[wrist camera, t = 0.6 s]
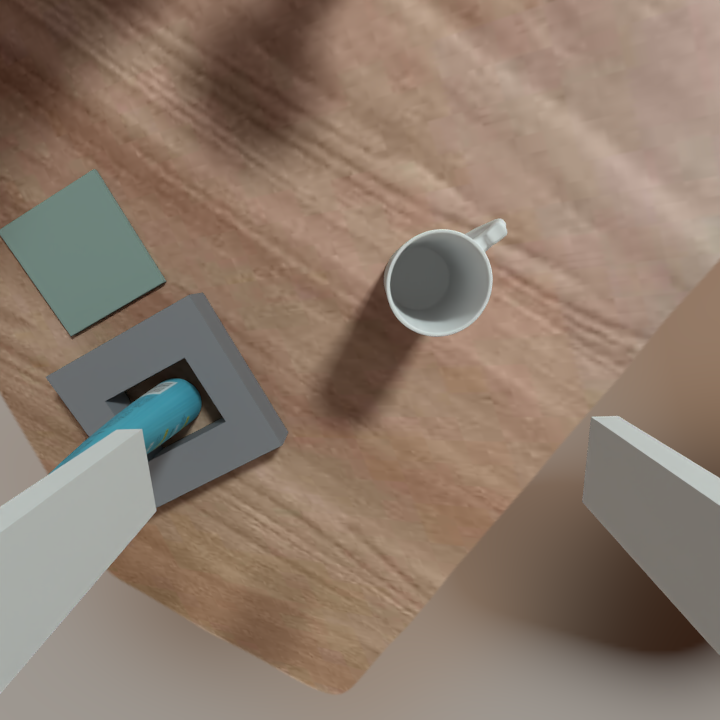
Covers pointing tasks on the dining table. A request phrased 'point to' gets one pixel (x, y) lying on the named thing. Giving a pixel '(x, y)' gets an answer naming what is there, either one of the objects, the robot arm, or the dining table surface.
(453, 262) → the mug
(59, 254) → the coaster
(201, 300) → the socket board
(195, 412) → the tube
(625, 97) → the dining table surface
